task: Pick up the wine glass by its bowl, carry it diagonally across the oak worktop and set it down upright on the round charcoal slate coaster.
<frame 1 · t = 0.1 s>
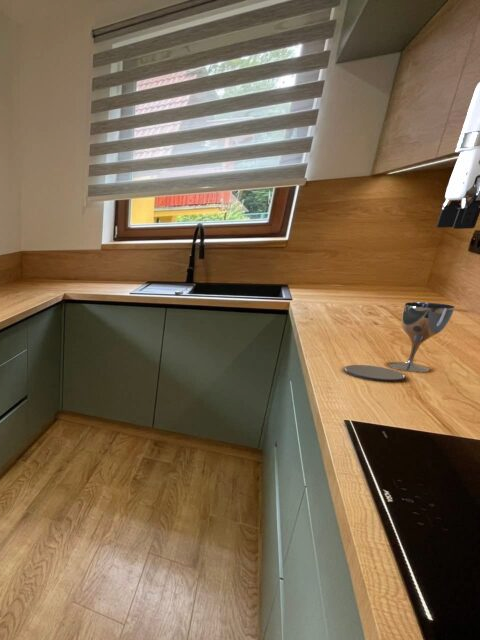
hand: (454, 227, 96), 32 cm above the worktop, tool pointing down, fingers open, 9 cm apart
coaster: (373, 374, 100), on the worktop
wine glass: (408, 367, 103), on the worktop
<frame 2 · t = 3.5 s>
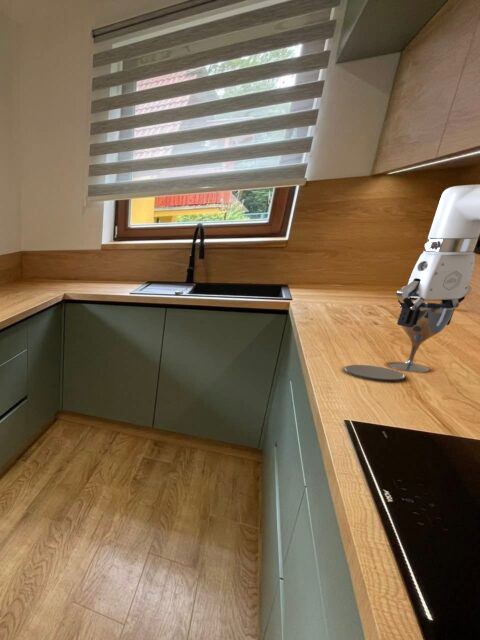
hand: (422, 324, 99), 10 cm above the worktop, tool pointing down, fingers closed on wine glass, 8 cm apart
wine glass: (408, 367, 103), on the worktop, touching gripper
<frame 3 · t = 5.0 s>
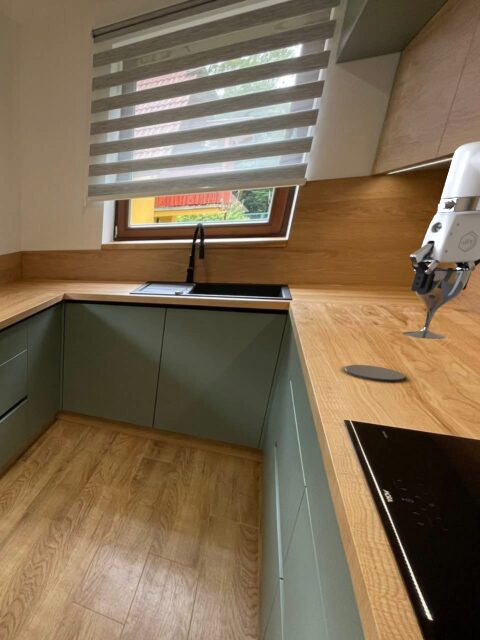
hand: (437, 289, 96), 19 cm above the worktop, tool pointing down, fingers closed on wine glass, 8 cm apart
wine glass: (423, 336, 100), point 8 cm above the worktop, touching gripper
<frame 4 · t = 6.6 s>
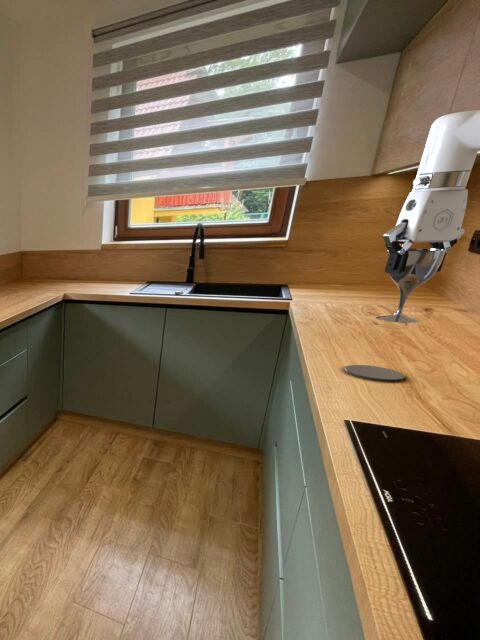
hand: (411, 271, 92), 23 cm above the worktop, tool pointing down, fingers closed on wine glass, 8 cm apart
wine glass: (396, 320, 96), point 13 cm above the worktop, touching gripper
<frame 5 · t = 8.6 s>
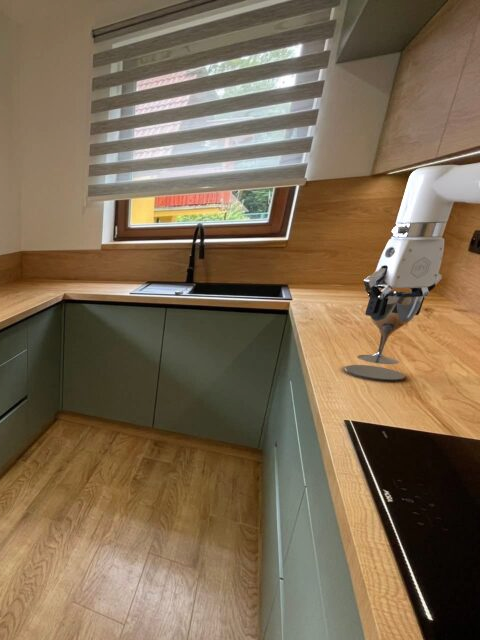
hand: (391, 314, 95), 14 cm above the worktop, tool pointing down, fingers closed on wine glass, 8 cm apart
wine glass: (377, 360, 99), point 3 cm above the worktop, touching gripper
when the fingers open (11 cm above the worktop, at t = 10.1 s): wine glass stays where it is, resting on coaster.
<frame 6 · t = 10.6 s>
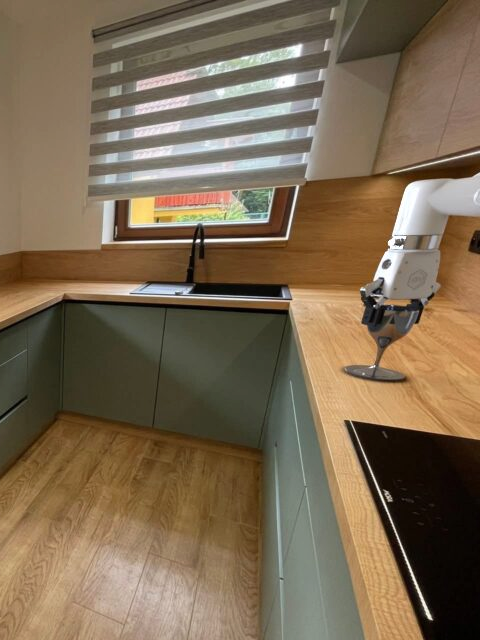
hand: (389, 324, 95), 12 cm above the worktop, tool pointing down, fingers open, 9 cm apart
wine glass: (374, 372, 100), resting on coaster
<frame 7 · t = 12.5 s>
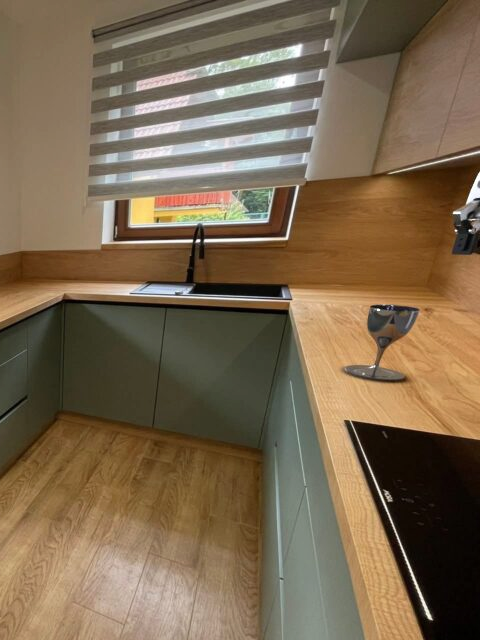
nothing on the worktop moved.
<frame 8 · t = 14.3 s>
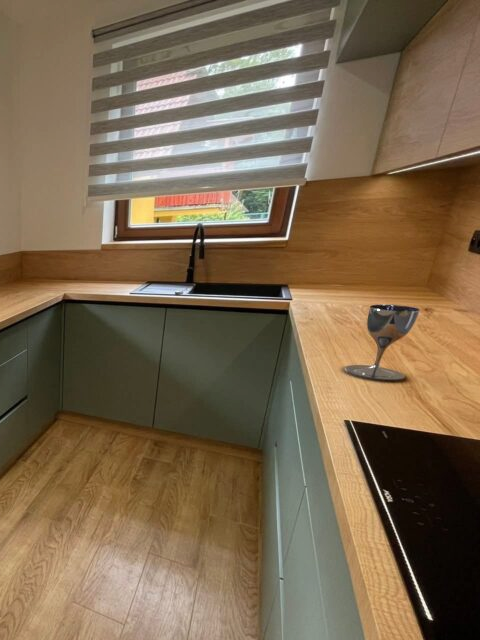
nothing on the worktop moved.
at the end: wine glass 0.1 cm from the coaster (horizontally); wine glass tilted 0°; the gripper is holding nothing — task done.
